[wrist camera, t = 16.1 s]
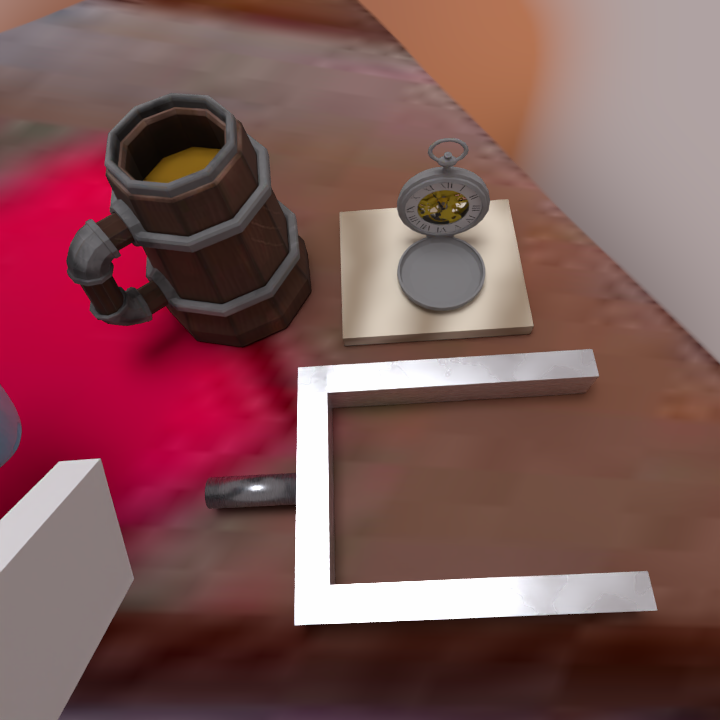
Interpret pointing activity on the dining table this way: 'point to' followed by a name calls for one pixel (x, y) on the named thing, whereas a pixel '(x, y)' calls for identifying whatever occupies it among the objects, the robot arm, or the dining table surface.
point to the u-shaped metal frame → (316, 494)
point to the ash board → (401, 315)
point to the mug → (193, 226)
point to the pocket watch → (442, 234)
